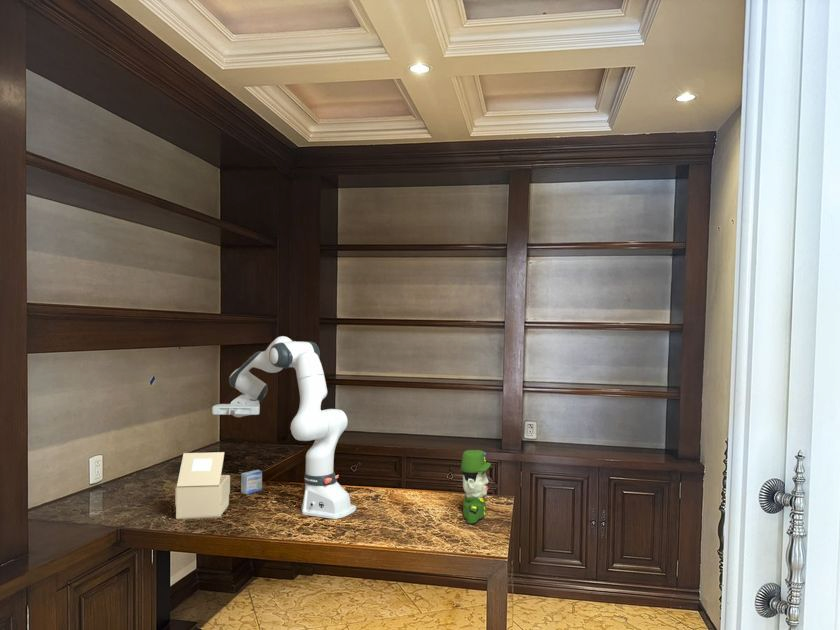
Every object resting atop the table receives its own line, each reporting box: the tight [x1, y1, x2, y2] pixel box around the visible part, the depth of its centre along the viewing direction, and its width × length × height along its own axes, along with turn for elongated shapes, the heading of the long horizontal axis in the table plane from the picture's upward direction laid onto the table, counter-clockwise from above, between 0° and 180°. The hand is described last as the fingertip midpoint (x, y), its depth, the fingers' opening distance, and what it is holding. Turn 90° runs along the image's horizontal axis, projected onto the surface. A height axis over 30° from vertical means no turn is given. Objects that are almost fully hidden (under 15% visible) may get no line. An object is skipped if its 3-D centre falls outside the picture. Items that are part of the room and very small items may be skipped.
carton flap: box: [176, 451, 225, 487], centre depth 203 cm, size 13×15×1 cm
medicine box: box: [240, 469, 263, 495], centre depth 231 cm, size 8×4×9 cm, turn 143°
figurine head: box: [460, 449, 492, 524], centre depth 205 cm, size 22×12×25 cm, turn 167°
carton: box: [174, 474, 231, 520], centre depth 207 cm, size 14×17×12 cm
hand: (232, 412), depth 226 cm, fingers closed
